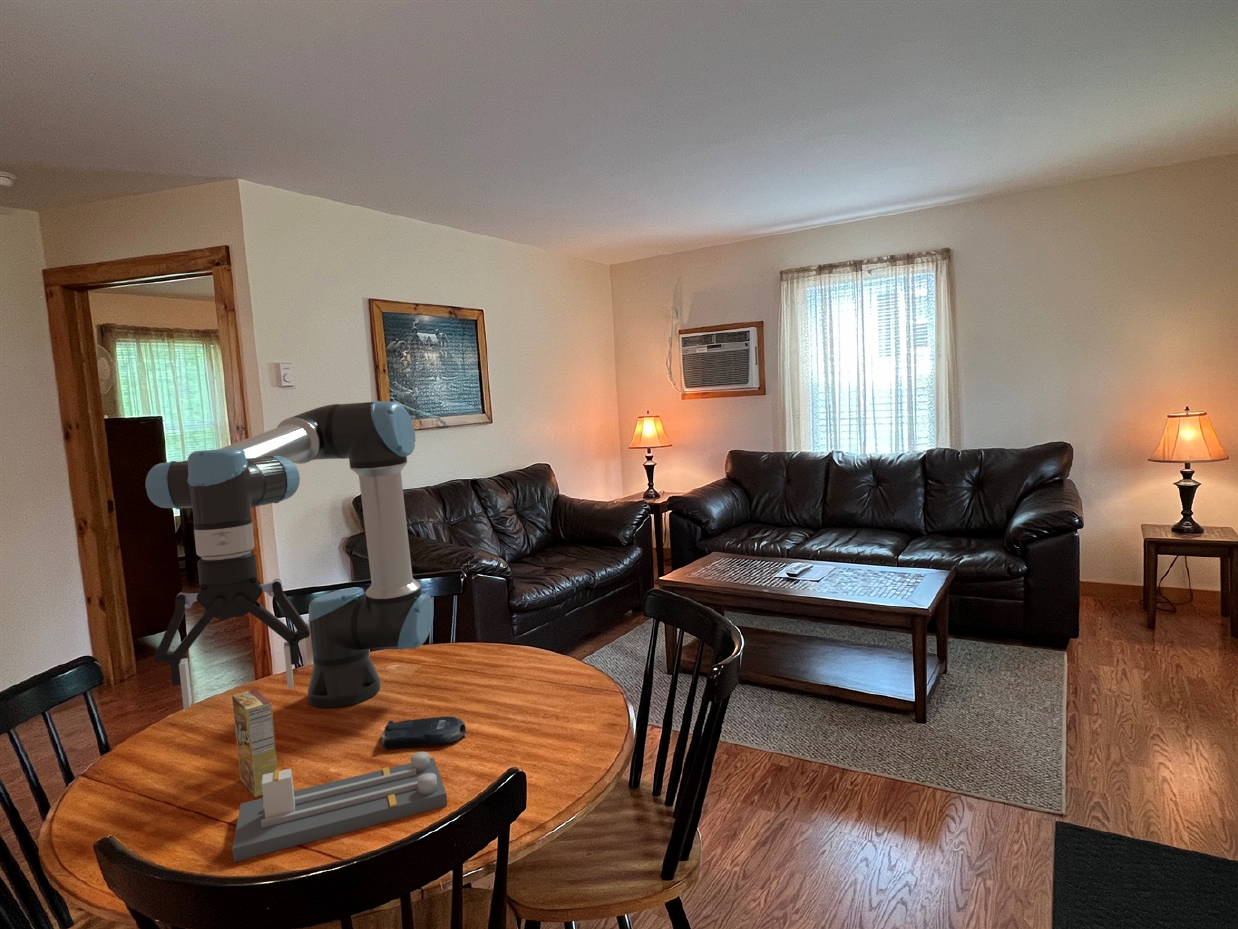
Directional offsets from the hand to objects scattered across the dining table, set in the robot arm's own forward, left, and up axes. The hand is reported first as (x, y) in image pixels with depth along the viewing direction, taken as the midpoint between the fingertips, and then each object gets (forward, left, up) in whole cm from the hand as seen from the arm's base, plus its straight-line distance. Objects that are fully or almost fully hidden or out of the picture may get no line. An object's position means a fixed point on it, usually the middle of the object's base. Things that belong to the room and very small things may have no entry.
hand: (240, 695), depth 107 cm
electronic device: (-20, +28, -22) cm, 41 cm away
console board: (0, +13, -22) cm, 25 cm away
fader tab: (0, +4, -20) cm, 20 cm away
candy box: (-16, 0, -22) cm, 27 cm away
